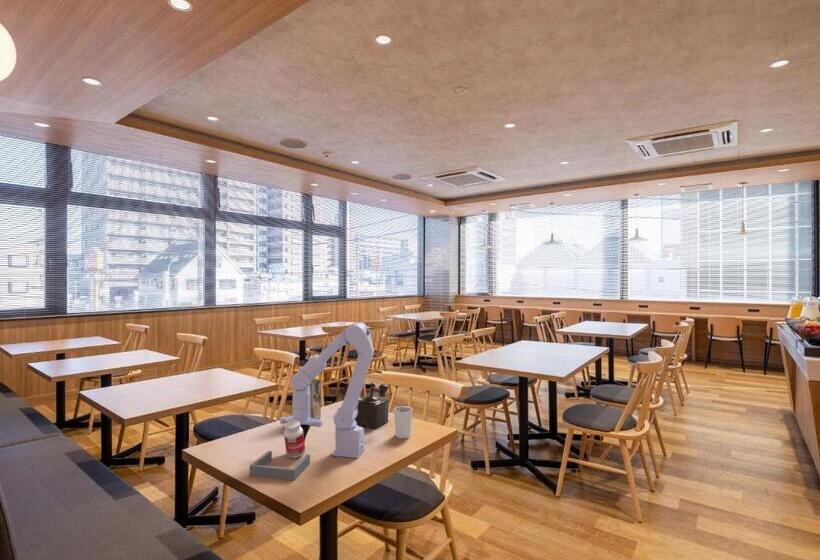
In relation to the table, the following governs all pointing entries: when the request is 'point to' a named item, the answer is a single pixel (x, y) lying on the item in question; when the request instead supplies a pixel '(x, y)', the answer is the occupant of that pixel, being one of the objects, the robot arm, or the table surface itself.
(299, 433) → the pill bottle
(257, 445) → the table surface
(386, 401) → the manual coffee grinder
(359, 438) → the robot arm
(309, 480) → the table surface
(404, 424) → the drinking glass
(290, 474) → the box
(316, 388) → the coffee box
